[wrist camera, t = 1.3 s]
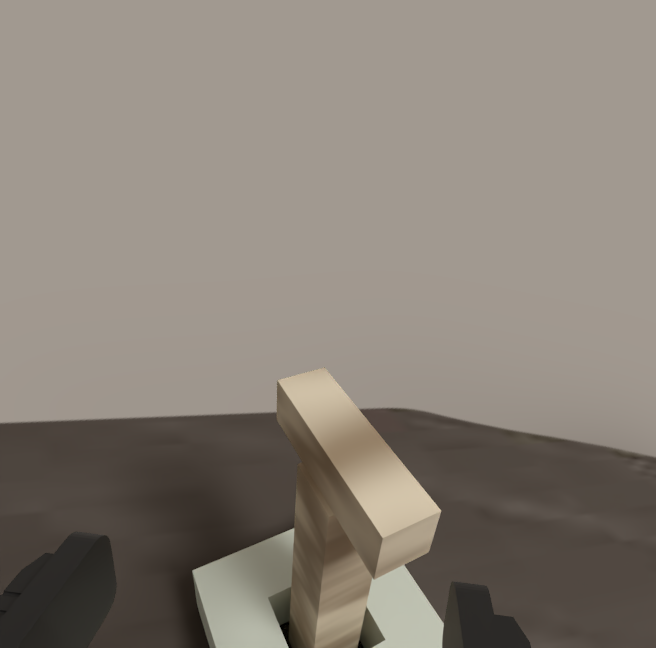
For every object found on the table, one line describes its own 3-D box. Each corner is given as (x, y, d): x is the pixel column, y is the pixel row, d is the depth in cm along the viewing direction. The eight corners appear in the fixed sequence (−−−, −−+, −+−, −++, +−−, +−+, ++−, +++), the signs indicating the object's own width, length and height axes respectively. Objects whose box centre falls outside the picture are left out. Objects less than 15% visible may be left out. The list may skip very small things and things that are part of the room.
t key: (270, 596, 33) (272, 381, 23) (310, 577, 34) (329, 366, 24) (334, 748, 26) (376, 541, 16) (381, 717, 28) (446, 508, 18)
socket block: (197, 605, 32) (192, 570, 30) (354, 534, 37) (360, 500, 35) (266, 838, 23) (266, 813, 21) (460, 703, 28) (476, 672, 26)
